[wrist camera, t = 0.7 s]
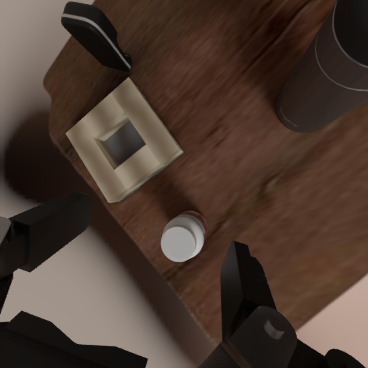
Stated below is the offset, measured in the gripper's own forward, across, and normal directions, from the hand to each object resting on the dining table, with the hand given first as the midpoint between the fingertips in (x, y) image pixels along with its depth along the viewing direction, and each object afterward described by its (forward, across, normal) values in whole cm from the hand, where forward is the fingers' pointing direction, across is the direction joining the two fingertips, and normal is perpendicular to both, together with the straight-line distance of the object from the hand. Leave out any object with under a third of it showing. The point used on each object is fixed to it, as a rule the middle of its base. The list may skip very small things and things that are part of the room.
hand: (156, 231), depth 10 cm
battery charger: (+33, +22, -14) cm, 42 cm away
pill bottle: (+23, -2, +12) cm, 26 cm away
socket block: (+28, +14, +1) cm, 31 cm away
